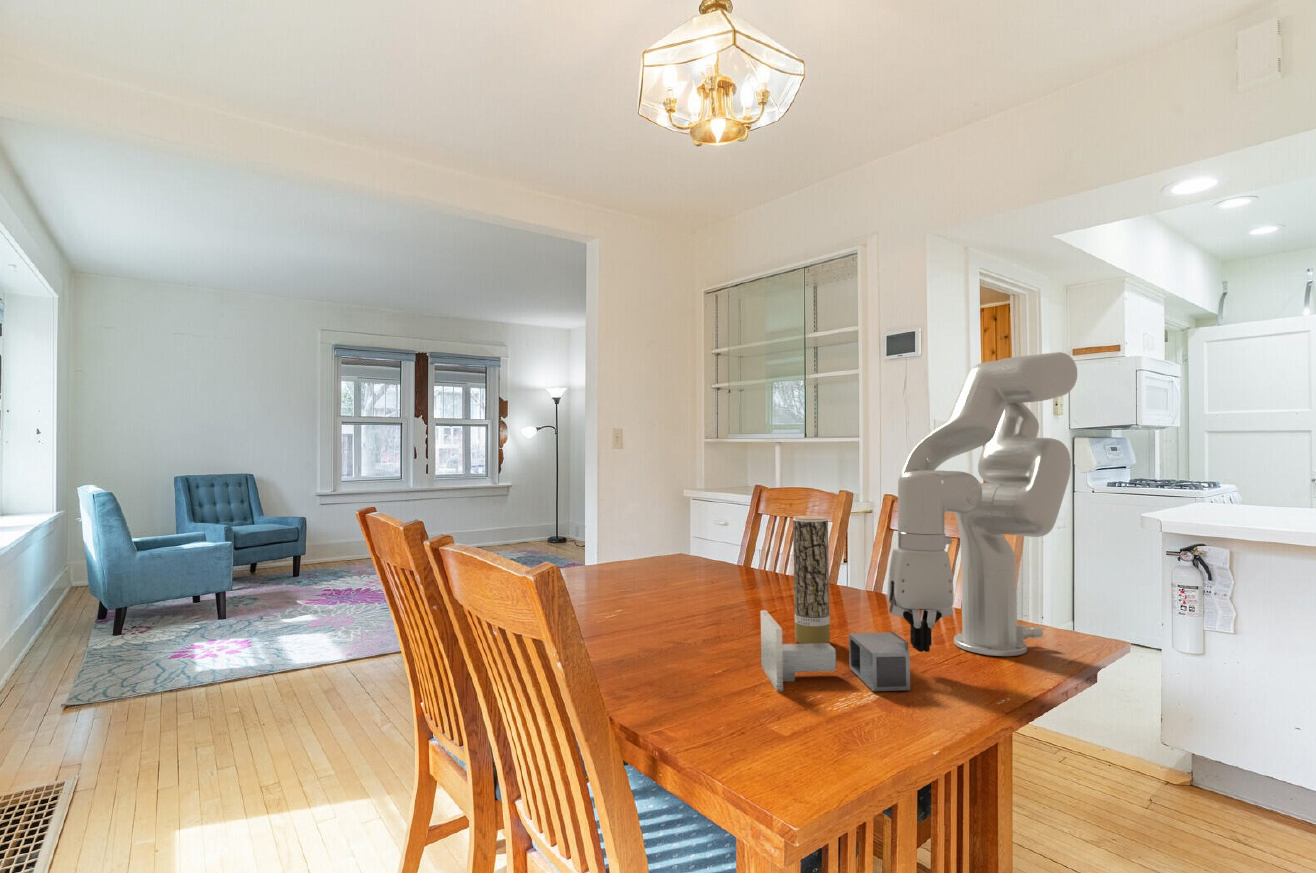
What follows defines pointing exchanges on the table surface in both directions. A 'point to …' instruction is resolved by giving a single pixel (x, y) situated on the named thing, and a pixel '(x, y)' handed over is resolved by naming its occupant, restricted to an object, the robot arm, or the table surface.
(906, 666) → the elbow
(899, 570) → the robot arm
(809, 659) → the grey t-shaped bracket
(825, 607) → the paper tube
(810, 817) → the table surface
